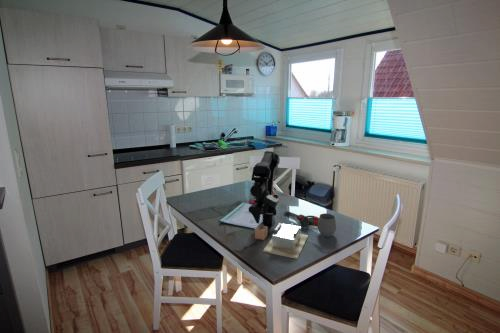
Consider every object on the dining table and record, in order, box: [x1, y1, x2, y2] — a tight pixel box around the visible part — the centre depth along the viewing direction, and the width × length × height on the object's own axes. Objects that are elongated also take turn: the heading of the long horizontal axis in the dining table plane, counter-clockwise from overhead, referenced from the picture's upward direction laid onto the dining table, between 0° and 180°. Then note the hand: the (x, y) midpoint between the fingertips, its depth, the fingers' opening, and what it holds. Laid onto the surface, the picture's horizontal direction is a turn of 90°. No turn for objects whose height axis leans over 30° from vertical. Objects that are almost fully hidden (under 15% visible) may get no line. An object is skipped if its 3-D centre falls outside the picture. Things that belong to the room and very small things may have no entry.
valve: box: [283, 210, 319, 229], centre depth 169 cm, size 6×26×15 cm
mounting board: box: [262, 233, 309, 260], centre depth 143 cm, size 22×16×1 cm
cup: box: [316, 213, 337, 238], centre depth 150 cm, size 10×9×10 cm
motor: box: [271, 222, 302, 251], centre depth 143 cm, size 17×10×8 cm, turn 157°
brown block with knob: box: [254, 223, 269, 241], centre depth 149 cm, size 5×5×7 cm
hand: (261, 219), depth 148 cm, fingers open, 9 cm apart
